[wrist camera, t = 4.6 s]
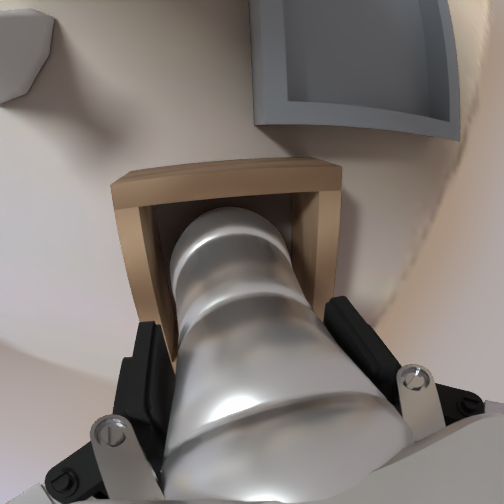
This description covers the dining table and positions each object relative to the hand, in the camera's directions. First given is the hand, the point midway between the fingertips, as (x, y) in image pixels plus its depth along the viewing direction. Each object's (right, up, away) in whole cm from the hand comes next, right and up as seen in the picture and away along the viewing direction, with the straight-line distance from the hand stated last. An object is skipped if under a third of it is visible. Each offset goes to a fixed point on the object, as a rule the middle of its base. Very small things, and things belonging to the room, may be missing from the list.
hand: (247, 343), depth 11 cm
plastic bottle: (-2, +4, +8) cm, 9 cm away
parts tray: (+7, +20, +3) cm, 21 cm away
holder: (-1, +3, +9) cm, 9 cm away
